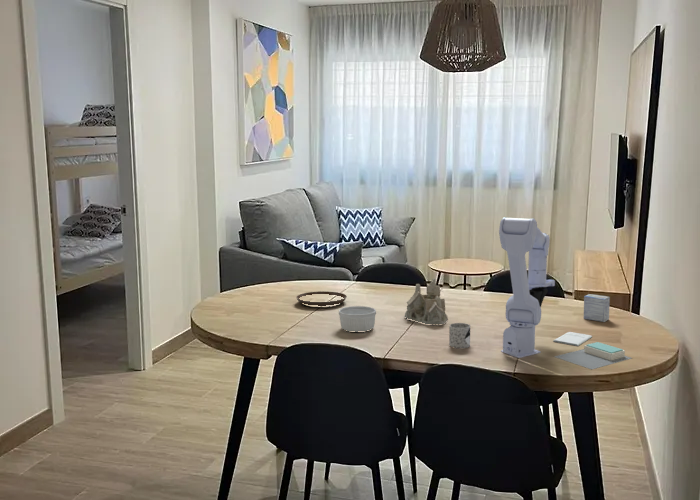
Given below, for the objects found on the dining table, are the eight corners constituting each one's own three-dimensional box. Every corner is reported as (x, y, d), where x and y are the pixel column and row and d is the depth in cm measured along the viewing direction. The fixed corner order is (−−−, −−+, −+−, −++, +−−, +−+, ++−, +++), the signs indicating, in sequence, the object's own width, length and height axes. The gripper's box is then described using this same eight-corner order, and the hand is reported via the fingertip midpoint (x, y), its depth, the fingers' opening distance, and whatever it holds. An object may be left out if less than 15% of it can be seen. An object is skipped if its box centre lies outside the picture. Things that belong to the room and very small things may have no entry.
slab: (611, 353, 202) (624, 349, 205) (584, 344, 210) (597, 341, 213) (611, 360, 202) (624, 356, 205) (584, 351, 210) (597, 348, 213)
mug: (470, 349, 217) (470, 328, 216) (448, 348, 218) (449, 328, 217) (470, 339, 227) (470, 320, 225) (449, 339, 228) (450, 319, 227)
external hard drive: (553, 344, 222) (568, 335, 231) (577, 349, 216) (592, 339, 226) (553, 339, 221) (568, 331, 231) (578, 344, 216) (592, 335, 226)
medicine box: (609, 320, 247) (610, 296, 246) (604, 322, 244) (605, 299, 243) (588, 316, 253) (589, 293, 251) (583, 318, 250) (583, 295, 248)
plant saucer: (317, 295, 295) (317, 288, 294) (356, 301, 283) (356, 294, 282) (286, 305, 278) (285, 297, 278) (326, 312, 266) (326, 304, 266)
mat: (591, 370, 195) (591, 369, 195) (553, 357, 207) (553, 356, 206) (632, 359, 204) (632, 358, 204) (593, 347, 216) (593, 346, 216)
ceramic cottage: (405, 313, 262) (406, 275, 258) (448, 316, 259) (450, 278, 255) (400, 326, 247) (402, 286, 243) (446, 330, 244) (448, 289, 240)
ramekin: (357, 322, 251) (357, 303, 250) (384, 328, 242) (383, 309, 241) (331, 329, 242) (330, 310, 241) (357, 336, 233) (357, 316, 232)
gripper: (530, 273, 215) (529, 315, 217) (562, 268, 223) (561, 309, 225) (514, 270, 221) (513, 311, 223) (546, 265, 228) (544, 304, 231)
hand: (536, 309), depth 224 cm, fingers closed
